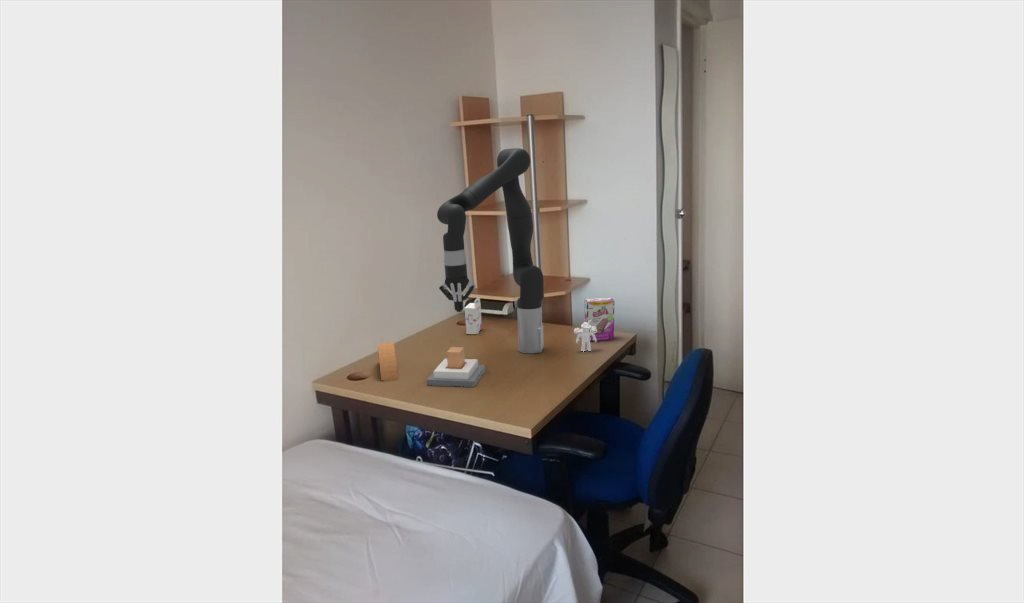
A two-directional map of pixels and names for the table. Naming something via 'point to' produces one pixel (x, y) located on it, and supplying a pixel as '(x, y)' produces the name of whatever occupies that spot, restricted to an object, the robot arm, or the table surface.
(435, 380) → the socket plate
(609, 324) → the candy bar box
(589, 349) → the blocky character figurine
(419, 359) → the table surface
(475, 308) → the ink cartridge box
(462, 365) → the cardboard parcel
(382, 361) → the arch
